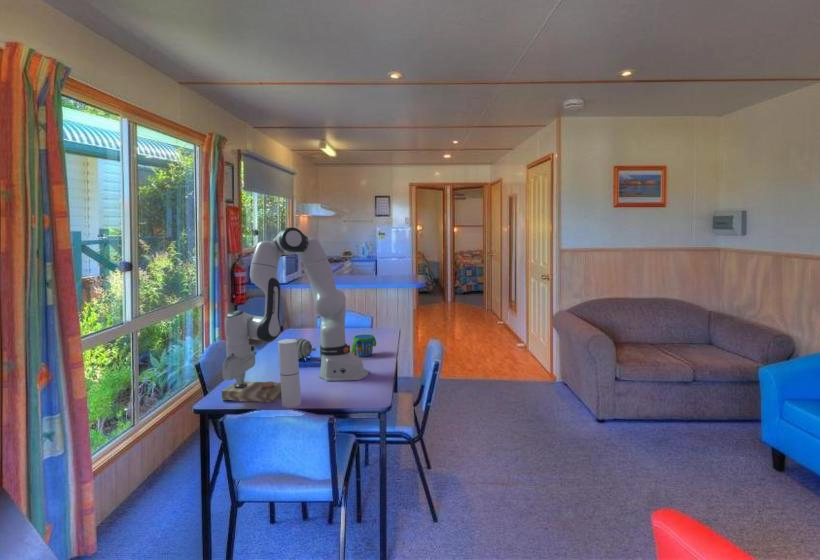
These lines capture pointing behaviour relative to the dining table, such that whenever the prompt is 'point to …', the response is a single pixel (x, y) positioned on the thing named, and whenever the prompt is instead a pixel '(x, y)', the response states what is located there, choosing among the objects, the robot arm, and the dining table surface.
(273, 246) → the robot arm
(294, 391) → the cylindrical container
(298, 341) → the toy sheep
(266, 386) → the terracotta button
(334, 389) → the dining table surface
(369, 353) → the snack cup
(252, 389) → the button panel
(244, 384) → the charcoal button
